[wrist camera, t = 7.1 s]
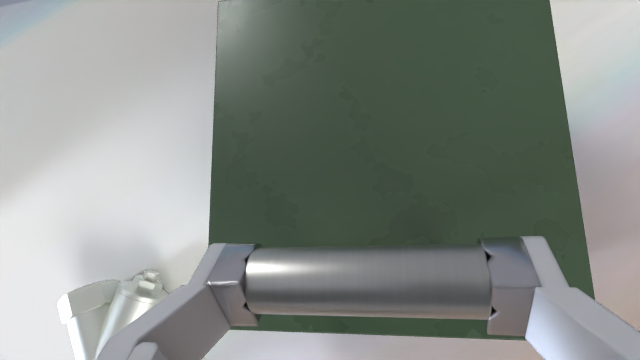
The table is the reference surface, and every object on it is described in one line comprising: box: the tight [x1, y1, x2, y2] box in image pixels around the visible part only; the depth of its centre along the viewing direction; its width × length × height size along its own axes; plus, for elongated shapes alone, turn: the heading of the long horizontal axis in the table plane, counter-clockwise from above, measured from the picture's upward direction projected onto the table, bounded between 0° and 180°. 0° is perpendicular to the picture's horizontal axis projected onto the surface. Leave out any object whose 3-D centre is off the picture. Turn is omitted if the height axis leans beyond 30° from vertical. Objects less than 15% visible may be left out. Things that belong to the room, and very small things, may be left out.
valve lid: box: [208, 0, 595, 340], centre depth 12 cm, size 15×14×6 cm
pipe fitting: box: [57, 270, 169, 360], centre depth 24 cm, size 8×4×7 cm
